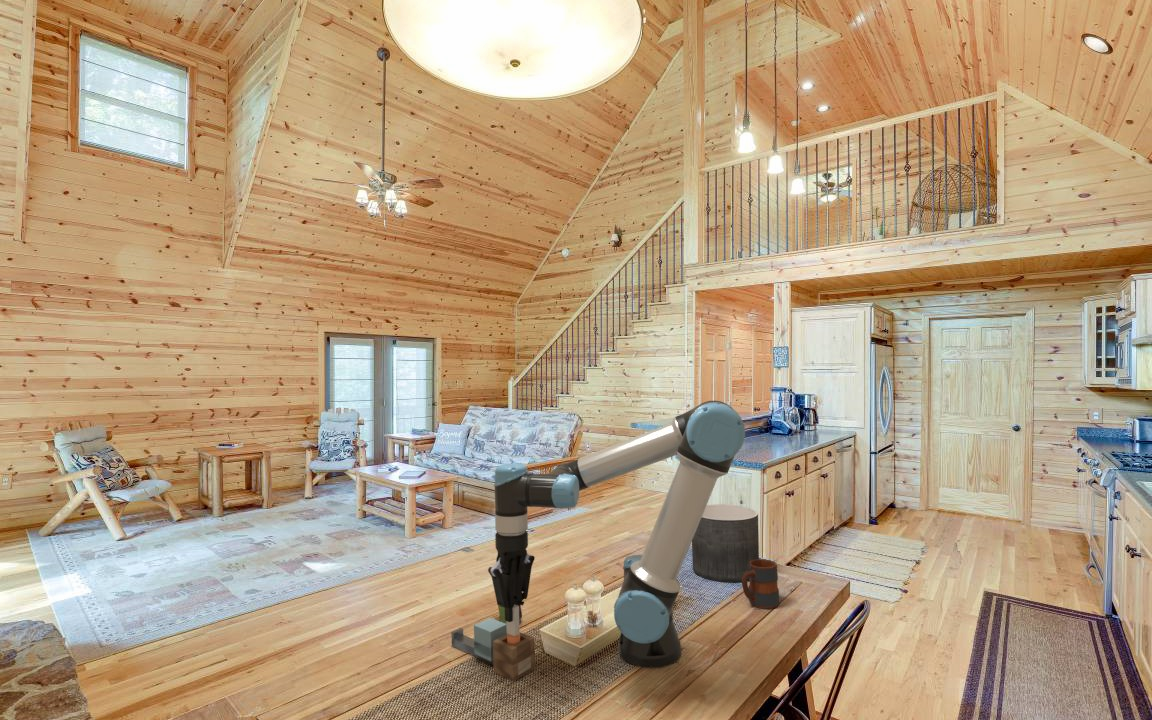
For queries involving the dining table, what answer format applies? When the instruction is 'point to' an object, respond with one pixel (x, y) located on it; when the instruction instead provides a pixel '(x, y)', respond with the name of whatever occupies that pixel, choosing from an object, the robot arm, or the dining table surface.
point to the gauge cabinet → (514, 657)
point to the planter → (725, 542)
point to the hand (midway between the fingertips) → (513, 633)
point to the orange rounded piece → (513, 639)
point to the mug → (762, 584)
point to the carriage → (487, 637)
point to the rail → (465, 643)
